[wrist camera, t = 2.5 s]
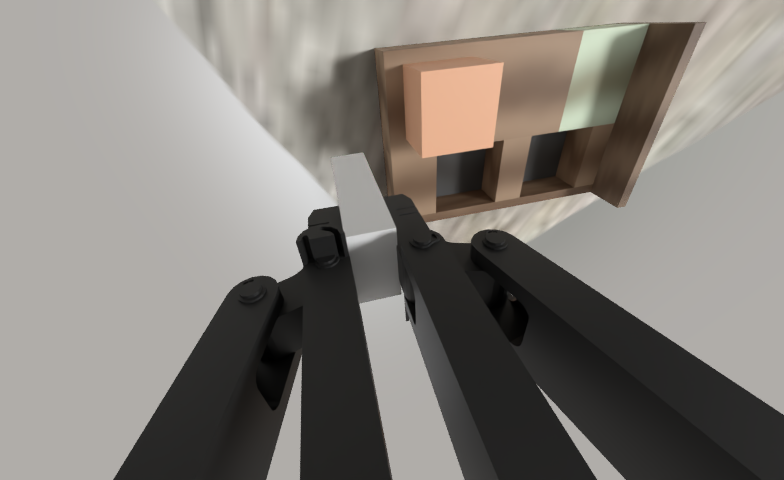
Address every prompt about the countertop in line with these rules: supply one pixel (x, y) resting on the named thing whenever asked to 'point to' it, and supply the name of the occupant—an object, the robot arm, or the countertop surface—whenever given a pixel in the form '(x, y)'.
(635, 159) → the box
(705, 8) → the countertop surface
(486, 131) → the block
